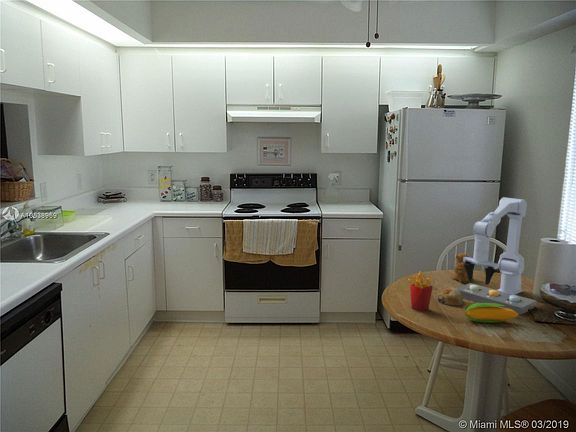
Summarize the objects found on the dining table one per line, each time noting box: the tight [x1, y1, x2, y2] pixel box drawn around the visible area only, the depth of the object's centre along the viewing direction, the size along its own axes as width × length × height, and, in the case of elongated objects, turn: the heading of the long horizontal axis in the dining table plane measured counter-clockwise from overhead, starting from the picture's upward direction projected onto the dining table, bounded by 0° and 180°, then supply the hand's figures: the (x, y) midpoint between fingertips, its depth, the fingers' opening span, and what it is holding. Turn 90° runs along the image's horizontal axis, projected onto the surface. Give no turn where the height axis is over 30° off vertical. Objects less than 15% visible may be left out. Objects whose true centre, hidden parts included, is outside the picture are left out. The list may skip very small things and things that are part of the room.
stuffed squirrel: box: [450, 252, 470, 284], centre depth 234 cm, size 10×14×13 cm
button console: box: [454, 282, 538, 316], centre depth 205 cm, size 14×30×3 cm, turn 39°
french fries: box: [407, 271, 434, 312], centre depth 194 cm, size 9×8×15 cm
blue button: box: [509, 294, 520, 303], centre depth 198 cm, size 4×4×3 cm
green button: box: [469, 284, 480, 292], centre depth 212 cm, size 4×4×3 cm
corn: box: [464, 302, 519, 324], centre depth 182 cm, size 7×8×20 cm
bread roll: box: [437, 287, 464, 306], centre depth 203 cm, size 10×10×8 cm
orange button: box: [489, 289, 499, 297], centre depth 205 cm, size 4×4×3 cm
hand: (478, 281), depth 199 cm, fingers open, 7 cm apart
